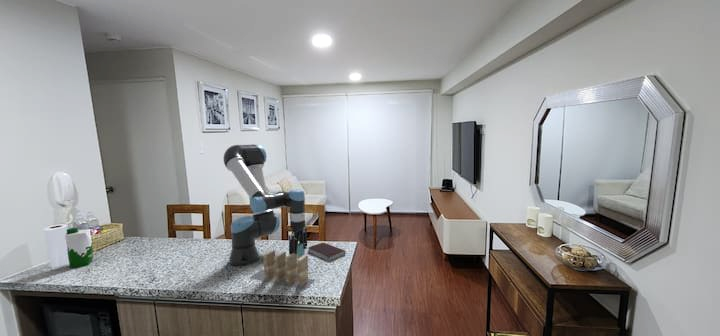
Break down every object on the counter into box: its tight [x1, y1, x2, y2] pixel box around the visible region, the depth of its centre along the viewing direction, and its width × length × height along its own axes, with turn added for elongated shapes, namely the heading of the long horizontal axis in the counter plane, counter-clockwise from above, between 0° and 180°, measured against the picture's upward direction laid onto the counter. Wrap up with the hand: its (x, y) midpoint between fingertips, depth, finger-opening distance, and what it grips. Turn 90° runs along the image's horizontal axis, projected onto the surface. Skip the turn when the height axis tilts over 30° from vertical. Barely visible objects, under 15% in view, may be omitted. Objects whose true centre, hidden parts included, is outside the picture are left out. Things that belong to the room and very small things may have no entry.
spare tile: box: [297, 242, 304, 259], centre depth 143 cm, size 2×6×12 cm, turn 160°
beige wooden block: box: [274, 251, 287, 282], centre depth 131 cm, size 2×6×12 cm, turn 160°
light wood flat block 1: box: [263, 249, 276, 280], centre depth 133 cm, size 2×6×12 cm, turn 160°
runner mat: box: [249, 269, 316, 291], centre depth 131 cm, size 31×9×1 cm, turn 70°
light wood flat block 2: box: [285, 253, 297, 284], centre depth 129 cm, size 2×6×12 cm, turn 160°
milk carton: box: [64, 227, 94, 269], centre depth 149 cm, size 9×9×20 cm
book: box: [307, 242, 346, 262], centre depth 162 cm, size 12×19×3 cm, turn 48°
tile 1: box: [297, 254, 309, 287], centre depth 127 cm, size 2×6×12 cm, turn 160°
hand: (299, 263), depth 144 cm, fingers closed on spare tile, 6 cm apart
